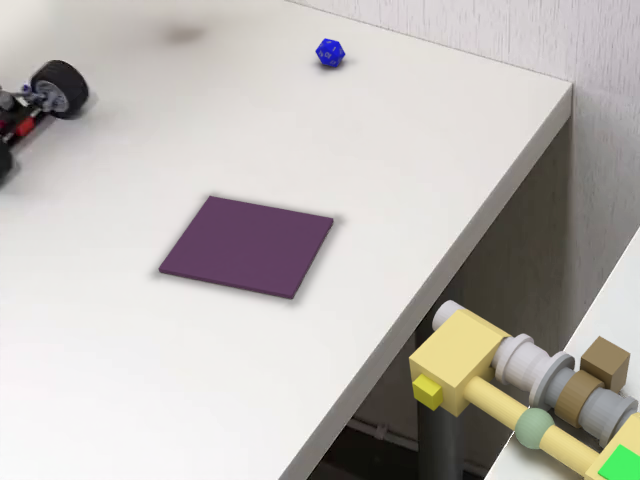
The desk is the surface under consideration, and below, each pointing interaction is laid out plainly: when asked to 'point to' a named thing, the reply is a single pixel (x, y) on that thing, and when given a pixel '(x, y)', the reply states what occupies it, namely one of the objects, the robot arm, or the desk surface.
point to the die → (330, 52)
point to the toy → (533, 390)
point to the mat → (248, 246)
